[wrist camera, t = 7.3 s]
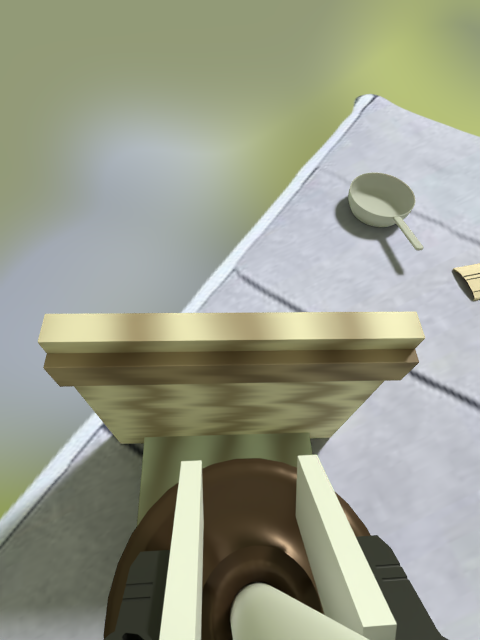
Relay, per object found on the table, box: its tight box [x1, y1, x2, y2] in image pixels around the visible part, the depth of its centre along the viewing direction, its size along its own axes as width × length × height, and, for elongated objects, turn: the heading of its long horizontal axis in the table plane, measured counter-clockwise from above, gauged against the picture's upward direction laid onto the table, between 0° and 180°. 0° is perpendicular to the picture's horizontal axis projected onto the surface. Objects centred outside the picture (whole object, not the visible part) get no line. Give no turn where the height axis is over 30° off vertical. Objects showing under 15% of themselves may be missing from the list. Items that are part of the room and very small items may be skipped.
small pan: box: [348, 173, 423, 250], centre depth 63 cm, size 11×18×4 cm, turn 15°
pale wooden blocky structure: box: [38, 312, 425, 526], centre depth 31 cm, size 24×17×24 cm
